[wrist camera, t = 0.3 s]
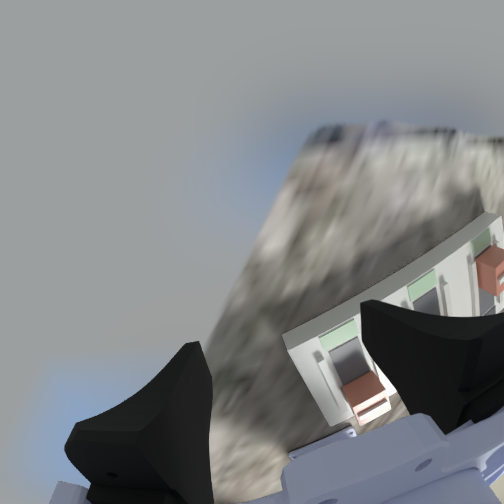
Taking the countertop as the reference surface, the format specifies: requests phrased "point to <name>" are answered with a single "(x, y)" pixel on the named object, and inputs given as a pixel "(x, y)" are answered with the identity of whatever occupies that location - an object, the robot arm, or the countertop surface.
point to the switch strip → (400, 294)
